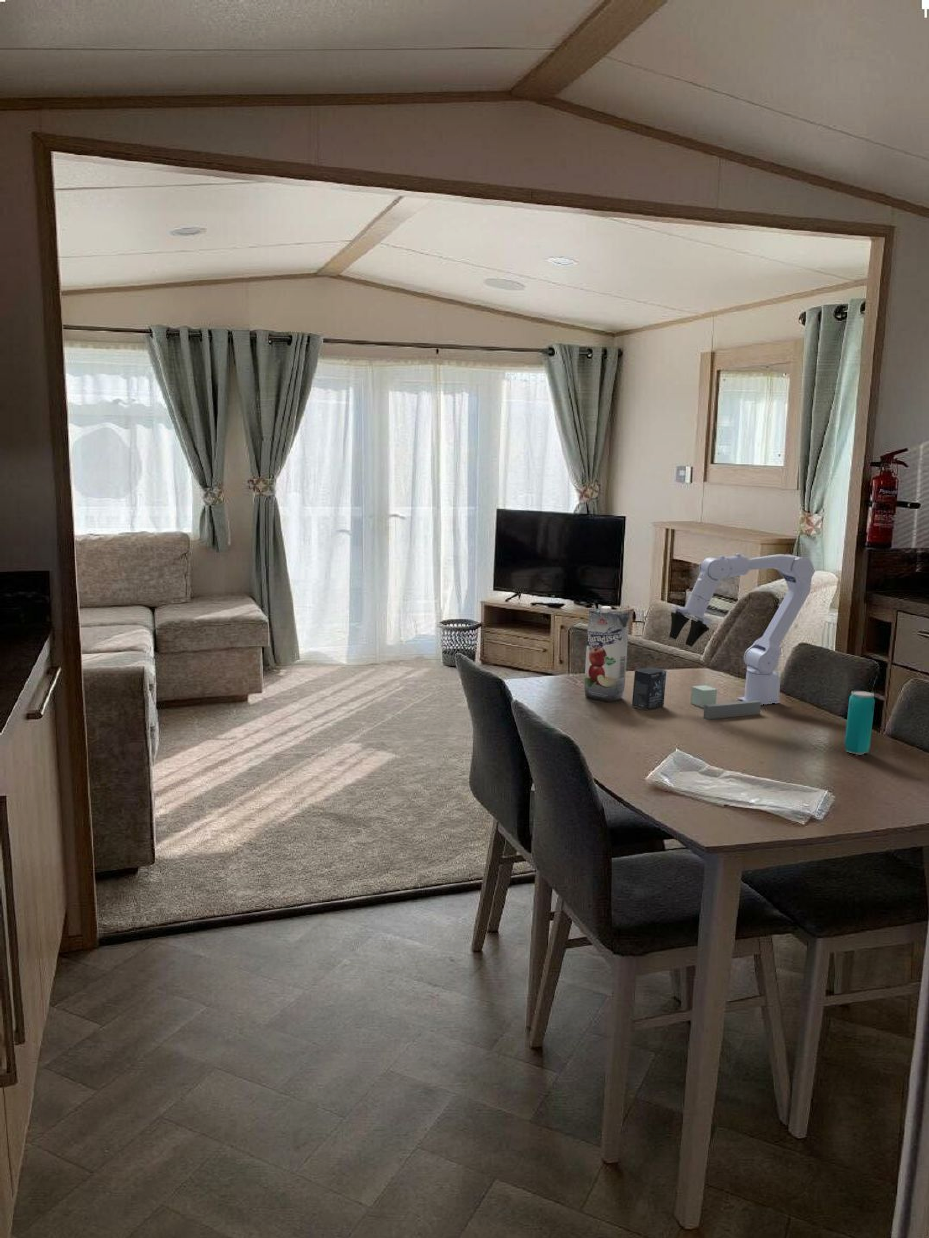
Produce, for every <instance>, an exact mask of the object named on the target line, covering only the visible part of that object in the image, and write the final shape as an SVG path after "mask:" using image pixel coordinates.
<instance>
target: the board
mask: <svg viewBox="0 0 929 1238" xmlns="http://www.w3.org/2000/svg"><path fill="white" fill-rule="evenodd" d="M761 706H762V705H761V702H760V701H757V700H752V701H742V700H740V701H733V702H732V701H731V702H722V703H716V704H708V705H704V707H703V716H702V717H703V718H704V719H707V720H713V719H725V718H733V717H744V716H753V715H760V714H761V708H762V707H761Z"/></svg>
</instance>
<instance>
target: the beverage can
mask: <svg viewBox="0 0 929 1238" xmlns="http://www.w3.org/2000/svg"><path fill="white" fill-rule="evenodd" d="M875 702H876V700H875V694H874V693H873V692H869V691H865V690H853V691H851V694H850V696H849V700H848V706H847V707H848V710H847V718H846V727H845V737H844V747H845V751H846V752H849V753H856V754H864V753H867V754H868V752H869V750H870V748H871V739H872V731H873V730H872V728H873V722H874V710H875ZM849 753H848V754H849Z"/></svg>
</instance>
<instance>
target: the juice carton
mask: <svg viewBox="0 0 929 1238" xmlns="http://www.w3.org/2000/svg"><path fill="white" fill-rule="evenodd" d="M629 624H630V611H627V610H614V609H612V606H608V605H603V606H601V607H598V608H595V609H591V610H589V612H588V622H587V632H586V633H587V634H586V635H587V636H586V650H585V651H586V652H585V653H586V654H585V668H584V696H585V698H588V697H591V698H590V699H593V698H595V699H594V700H598V699H599V701H604V702H609V703H613V702H614V701H617V700H620V699H622V698H623V696H624V695H623V694H624V691H625V686H626V673H627V672H626V671H627V661H628V660H627V658H628V643H629V642H628V641H629V627H630V625H629ZM619 698H620V699H619Z"/></svg>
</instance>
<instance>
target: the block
mask: <svg viewBox="0 0 929 1238" xmlns="http://www.w3.org/2000/svg"><path fill="white" fill-rule="evenodd" d="M690 691H691V694H690V704H692V705H695V706H697V707H700V708H704V705H708V704H717V695H718V689H717V688H714V687H711V686H709V685H704V684H703V685H693V686H691V690H690Z"/></svg>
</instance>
